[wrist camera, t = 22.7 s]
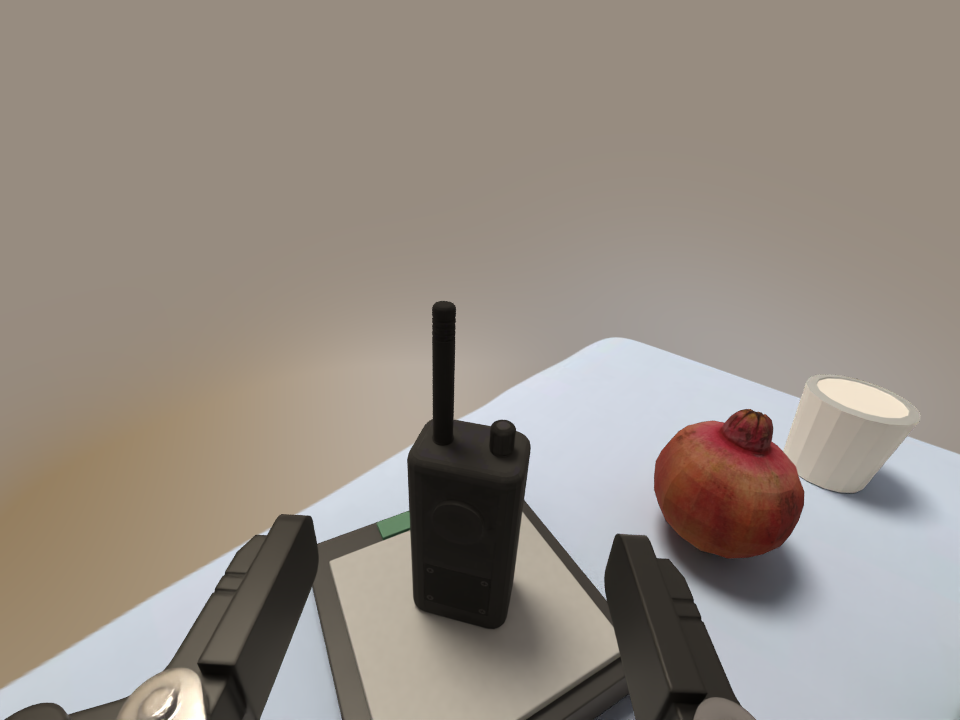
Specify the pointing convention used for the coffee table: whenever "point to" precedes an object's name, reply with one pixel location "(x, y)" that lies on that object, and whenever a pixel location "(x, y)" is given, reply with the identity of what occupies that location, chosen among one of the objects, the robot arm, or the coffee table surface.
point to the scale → (464, 636)
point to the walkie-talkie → (464, 501)
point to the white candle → (846, 431)
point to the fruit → (729, 486)
